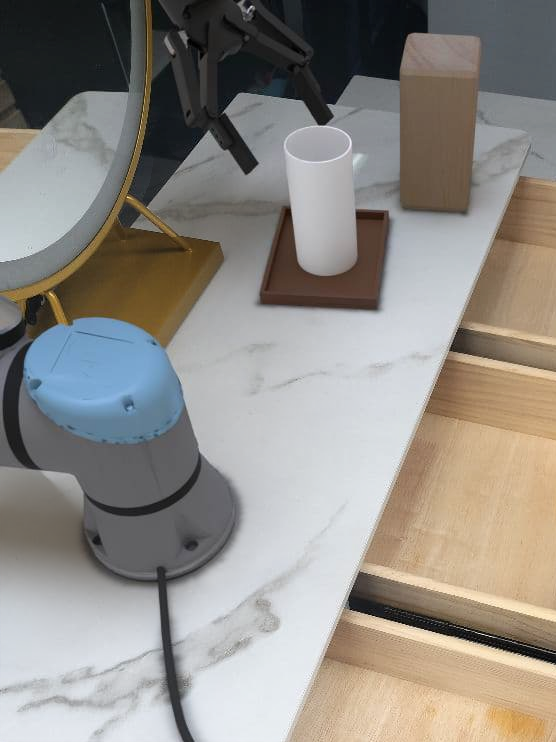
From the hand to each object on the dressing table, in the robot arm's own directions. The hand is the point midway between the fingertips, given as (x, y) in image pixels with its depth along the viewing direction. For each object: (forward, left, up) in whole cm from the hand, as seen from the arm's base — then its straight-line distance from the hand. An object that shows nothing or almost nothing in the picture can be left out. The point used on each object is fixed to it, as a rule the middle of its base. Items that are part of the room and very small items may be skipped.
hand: (291, 145), depth 101 cm
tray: (-2, -4, -15) cm, 15 cm away
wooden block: (+15, -18, -15) cm, 27 cm away
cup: (-2, -4, -14) cm, 15 cm away
